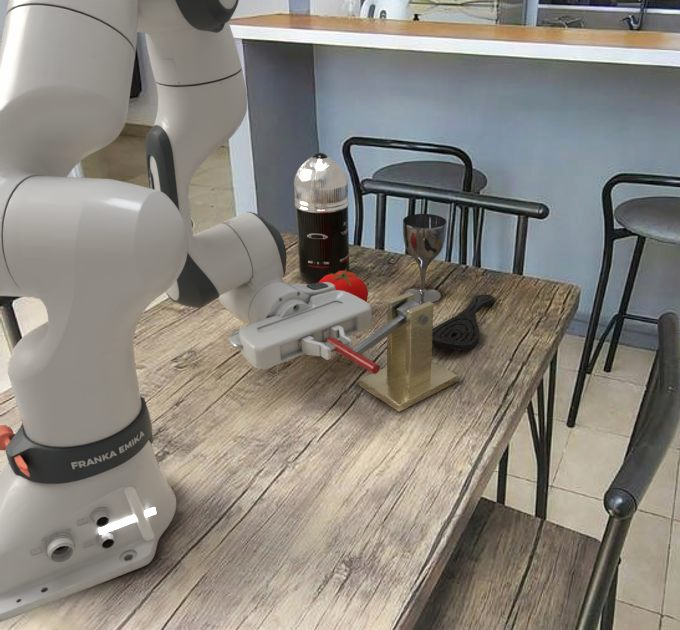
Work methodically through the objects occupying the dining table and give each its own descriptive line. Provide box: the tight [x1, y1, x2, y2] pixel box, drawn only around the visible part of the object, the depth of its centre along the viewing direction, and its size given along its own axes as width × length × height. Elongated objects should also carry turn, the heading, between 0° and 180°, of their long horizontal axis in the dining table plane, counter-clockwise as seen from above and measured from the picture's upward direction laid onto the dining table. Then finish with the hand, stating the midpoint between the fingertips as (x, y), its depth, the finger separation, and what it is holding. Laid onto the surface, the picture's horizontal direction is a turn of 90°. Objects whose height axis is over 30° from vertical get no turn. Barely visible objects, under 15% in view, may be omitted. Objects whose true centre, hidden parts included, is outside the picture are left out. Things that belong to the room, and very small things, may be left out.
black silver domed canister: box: [293, 152, 350, 284], centre depth 131 cm, size 10×10×25 cm
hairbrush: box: [432, 294, 495, 351], centre depth 119 cm, size 8×4×25 cm
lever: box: [326, 299, 421, 374], centre depth 95 cm, size 13×10×2 cm
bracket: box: [358, 292, 459, 413], centre depth 100 cm, size 12×9×14 cm
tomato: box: [319, 270, 369, 303], centre depth 120 cm, size 9×10×8 cm
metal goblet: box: [402, 213, 447, 304], centre depth 127 cm, size 8×8×15 cm
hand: (340, 350), depth 94 cm, fingers closed on lever
